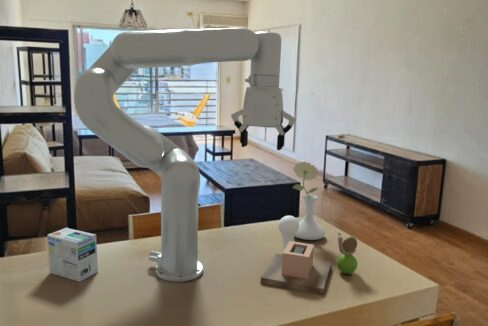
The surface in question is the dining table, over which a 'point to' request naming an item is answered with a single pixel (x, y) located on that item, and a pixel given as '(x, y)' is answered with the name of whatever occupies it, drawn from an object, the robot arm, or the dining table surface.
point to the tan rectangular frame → (297, 260)
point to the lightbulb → (288, 229)
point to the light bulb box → (72, 254)
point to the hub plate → (311, 284)
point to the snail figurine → (347, 255)
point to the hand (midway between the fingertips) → (261, 147)
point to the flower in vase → (308, 204)
